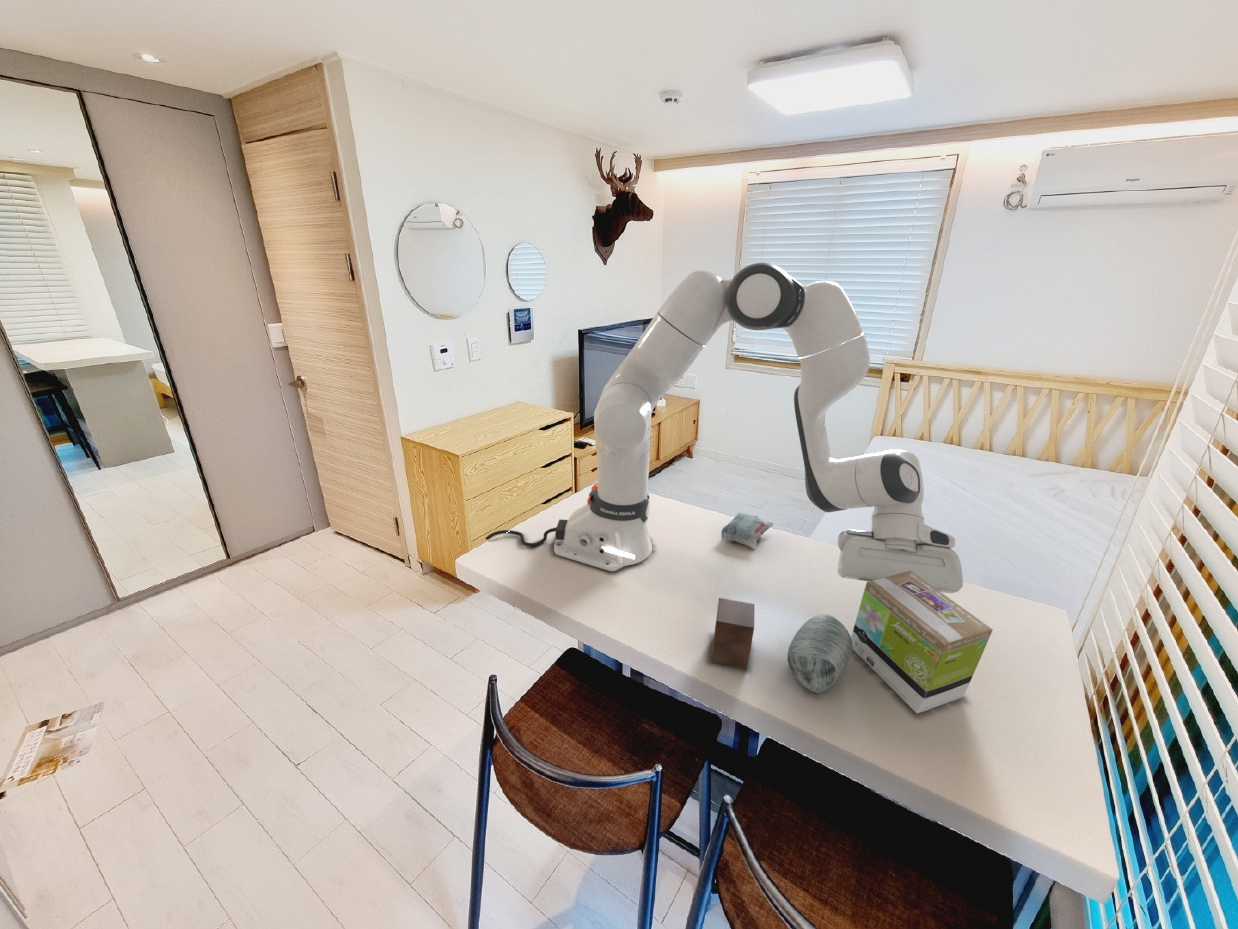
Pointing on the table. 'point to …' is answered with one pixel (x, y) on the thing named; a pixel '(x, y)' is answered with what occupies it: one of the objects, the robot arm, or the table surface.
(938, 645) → the tea box
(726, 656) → the walnut block
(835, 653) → the spool
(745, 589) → the table surface
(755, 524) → the packaged food
